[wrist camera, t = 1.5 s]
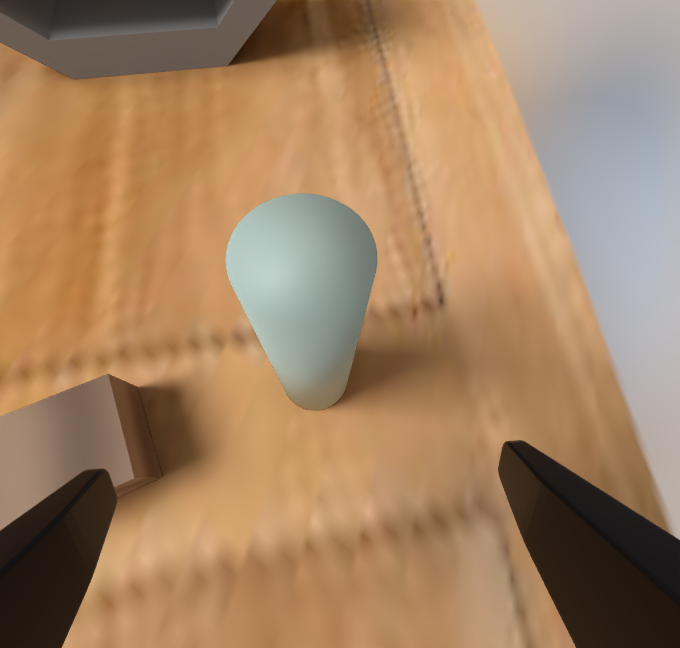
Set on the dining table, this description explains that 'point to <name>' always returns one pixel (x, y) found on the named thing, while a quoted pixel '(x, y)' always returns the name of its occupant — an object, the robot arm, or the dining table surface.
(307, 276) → the post
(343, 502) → the dining table surface
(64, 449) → the brown wooden block
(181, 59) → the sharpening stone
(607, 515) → the robot arm
